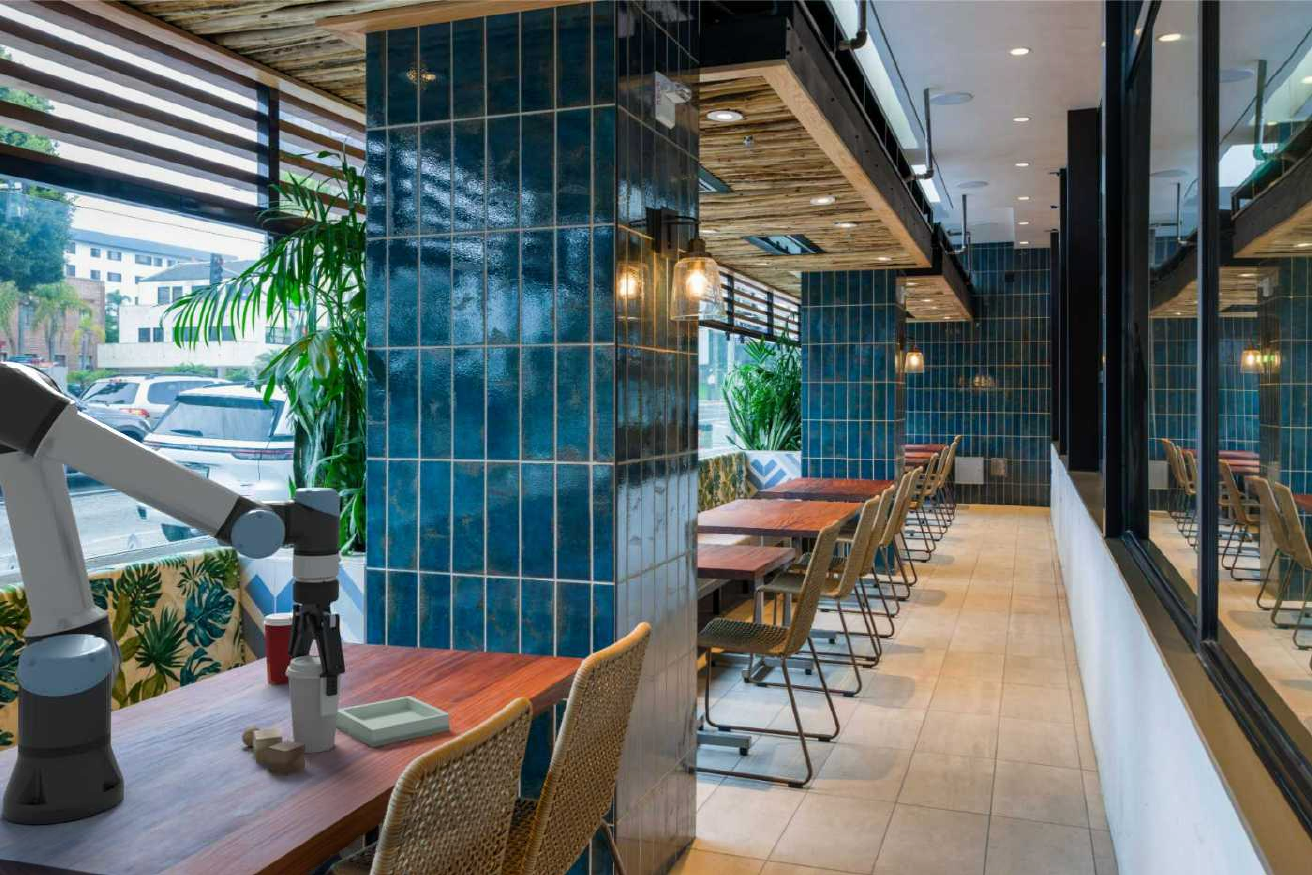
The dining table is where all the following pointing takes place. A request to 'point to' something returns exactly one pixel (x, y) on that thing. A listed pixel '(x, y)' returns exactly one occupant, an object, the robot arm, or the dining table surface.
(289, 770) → the walnut block
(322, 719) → the coffee cup
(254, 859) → the dining table surface
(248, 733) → the cork ball
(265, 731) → the beech block
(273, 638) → the paper cup
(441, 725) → the tray
